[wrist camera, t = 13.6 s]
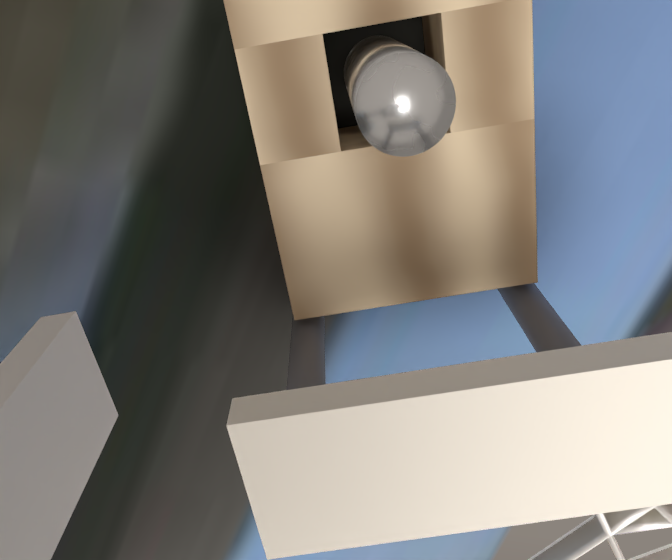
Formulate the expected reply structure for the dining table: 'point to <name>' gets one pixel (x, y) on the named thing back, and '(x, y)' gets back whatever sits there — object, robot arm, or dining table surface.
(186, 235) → the dining table surface
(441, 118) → the peg
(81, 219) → the dining table surface
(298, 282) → the socket block
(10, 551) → the robot arm
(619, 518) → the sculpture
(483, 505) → the miniature white table
